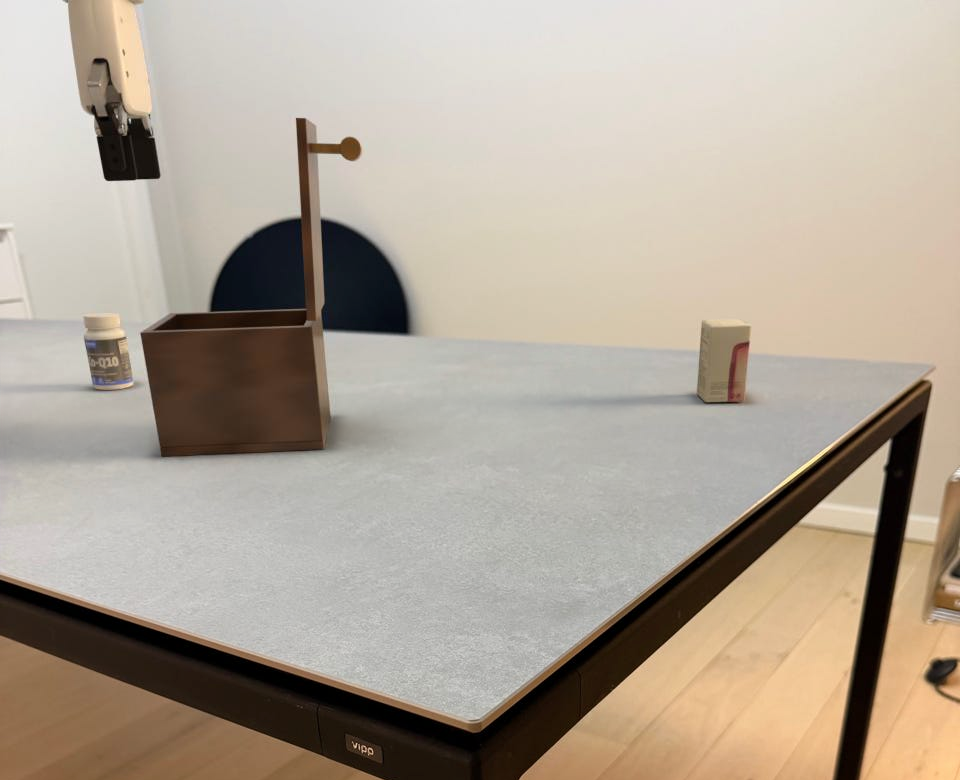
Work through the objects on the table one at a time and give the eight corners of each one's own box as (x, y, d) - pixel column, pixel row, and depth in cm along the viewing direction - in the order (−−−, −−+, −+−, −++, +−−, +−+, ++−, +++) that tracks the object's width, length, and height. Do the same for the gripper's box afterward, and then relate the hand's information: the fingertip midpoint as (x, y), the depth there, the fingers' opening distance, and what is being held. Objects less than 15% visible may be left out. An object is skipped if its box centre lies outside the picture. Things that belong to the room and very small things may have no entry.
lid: (295, 117, 75) (359, 119, 76) (307, 125, 86) (362, 126, 87) (306, 321, 82) (365, 321, 82) (316, 303, 93) (367, 303, 94)
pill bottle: (87, 390, 114) (72, 317, 110) (102, 382, 118) (88, 311, 114) (126, 390, 113) (112, 316, 110) (140, 382, 118) (127, 311, 114)
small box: (745, 402, 100) (753, 324, 97) (704, 403, 101) (710, 325, 97) (734, 393, 105) (741, 318, 101) (695, 393, 105) (701, 319, 102)
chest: (161, 456, 86) (139, 332, 81) (187, 423, 97) (169, 313, 92) (323, 449, 87) (312, 326, 82) (330, 418, 98) (320, 308, 93)
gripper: (88, -2, 100) (120, 179, 107) (29, -32, 84) (71, 182, 92) (160, -4, 100) (187, 177, 108) (115, -34, 84) (150, 180, 92)
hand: (134, 179), depth 100 cm, fingers open, 9 cm apart
